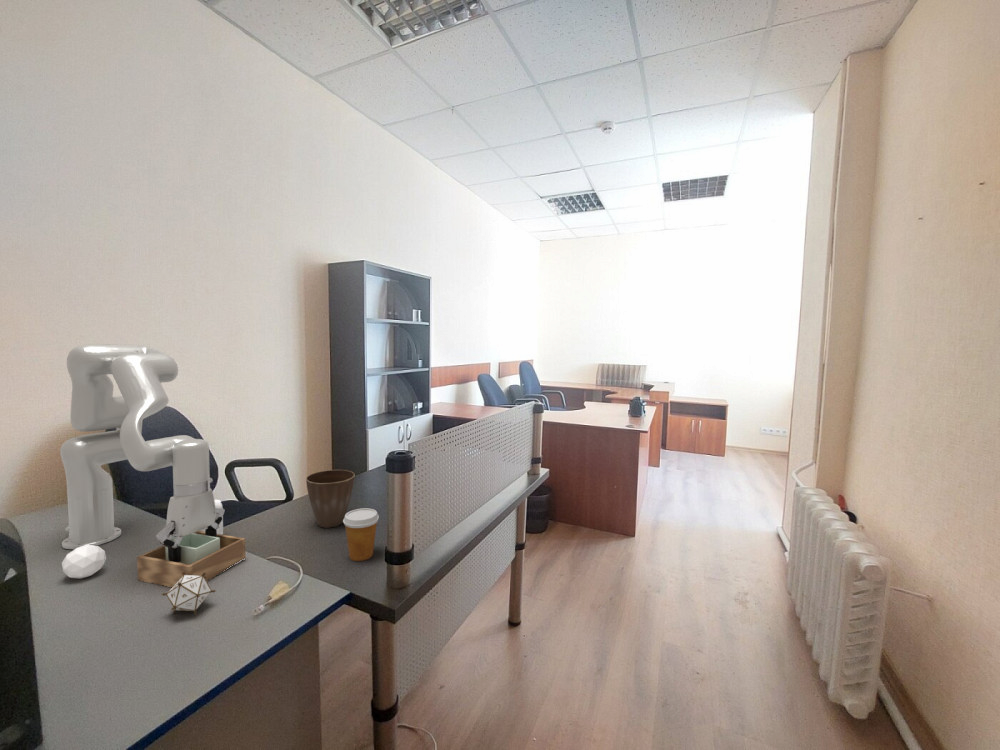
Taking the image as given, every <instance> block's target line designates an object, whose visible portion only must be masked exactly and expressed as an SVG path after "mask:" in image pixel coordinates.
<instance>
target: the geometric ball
mask: <svg viewBox="0 0 1000 750" xmlns="http://www.w3.org/2000/svg"><path fill="white" fill-rule="evenodd" d="M106 560H107V556H106V551H105V550H104V549H102V548H101V547H100V545H97V546H94V545H89V544H87V545H84V546H81V547H78V548H76V549H72V551H70V552H68V553H67V554H66V556H65V557H64V558H63V560H62V562H61V568H62V569H61V570H62V572H63V573H64V574H65V575H66V576H67V577H68V578H71V579H80V580H81V579H85V578H88V577H90V576H93V575H94V574H95V573H97V572H99V570H101V569H102V568H103V566H104V564H105V562H106Z"/></svg>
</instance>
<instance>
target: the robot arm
mask: <svg viewBox="0 0 1000 750" xmlns="http://www.w3.org/2000/svg"><path fill="white" fill-rule="evenodd" d="M66 369H67V371H68V375H69V377H70V381H71V384H72V385H71V398H70V399H71V400H70V424H71V427H72V428H73V429H74V430H75V431H78V432H84V433H85V432H87V434H82V435H78V436H75V437H71V438H69V439H67V440H65V441H64V442H63V443H62V445H61V446H60V449H59V453H60V454H59V455H60V458H61V461H62V464H63V465H62V466H63V468H64V473H65V478H66V479H65V480H66V494H67V497H66V498H67V511H68V526H66V527H65V532H68V537H66V538H65V539H64V540H63V541H62V542H61V547H62V548H63V549H65V550H75V549H76V548H78V547H81V546H84V545H87V544H89V545H94V546H100V545H104V544H106V543H108V542H111V541H113V540H115V539H118V537H120V536H121V535H122V529H121V528H119V527H117V526H116V527H115V518H114V515H115V513H114V489H113V478H112V476H111V475H110V473H109V472H107V470H104V469H103V468H102V466H104V465H108V464H112V463H116V462H120V461H128V463H129V465H130V466H131V467H132V468H133V469H135V470H136V471H139V472H150V471H151V472H152V471H156V470H159V469H162V468H163V469H164V468H167V467H172V481H173V484H172V485H173V488H172V489H173V496H170V498H169V500H168V501H169V502H168V506H167V512H166V513H167V514H166V524H165V526H164V527H163V529H161V530H160V531H159V532H157V534H156V535H155V538H156V539H157V540H158V542H159V544H160V545H161V546H163V545H165V546H166V547H168V559H169V561H172V562H177V563H179V562H180V561H181V547H180V546H178V545H179V543H180V542H181V540H182V538H183V537H185V536H188V535H190V534H192V533H195V532H197V531H199V530H202V529H204V528H206V527H207V528H208V529H206V530H205V535H207V536H213V537H217V529H218V528H219V524H220V522H221V521H222V517H223V518H224V514H225V511H226V510H225V508H223V509H220V508H215V501H214V499H215V496H214V493H213V489H212V488H211V483H212V482H213V481H214V480H213V478H212V477H210V476H211V475H210V445H209V442H208V441H207V440H206V439H202V438H194V437H193V436H189V435H185V434H183V435H180V434H179V435H173V436H170V437H169V436H168V437H163V438H156V439H151V440H146V441H145V439H144V437H143V435H142V430H143V421H144V419H146V418H148V417H150V416H152V415H154V414H156V413H159V412H160V411H161V410H163V409H164V408H165V407H166V406H168V404H169V398H168V395H167V393H166V391H165V389H164V387H163V385H162V384H163V383H170V382H172V381H175V379H176V378H177V376H178V375H179V367H178V364H177V362H176V361H175V359H174V358H173V357H172V356H171V355H170V354H169V353H166V352H163V351H161V350H158V349H155V348H153V347H150V346H148V345H147V346H146V345H140V344H104V343H103V344H102V343H101V344H100V343H99V344H98V343H97V344H95V343H94V344H93V343H92V344H91V343H90V344H82V345H78V346H75V347H73V348H72V349H71V350H70V351H69V352H68V354H67V356H66ZM109 375H112V376H113V378H114V380H115V383H116V385H117V388H118V390H119V392H120V394H121V396H120V395H119V396H118V395H117V396H114V386H115V385H114V383H113V381H112V379H111V378H110V377H109ZM161 383H162V384H161ZM110 429H111V430H112V429H116V430H112V431H111V430H110ZM105 430H110V431H105ZM97 431H103V432H97ZM89 432H93V433H89ZM94 432H95V433H94ZM168 536H169V537H168ZM174 540H175V541H174ZM173 541H174V542H173Z"/></svg>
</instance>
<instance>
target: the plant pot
mask: <svg viewBox="0 0 1000 750" xmlns="http://www.w3.org/2000/svg"><path fill="white" fill-rule="evenodd" d="M355 476H356V475H355V473H354V472H353V471H351V470H347V469H329V470H322V471H316V472H314V473H310V474H309V475H307V476H306V477H305V482H306V489H307V492H308V493H307V494H308V499H309V503H310V506H311V509H312V512H313V515H314V517H315V519H316V522H317V525H318V526H319V527H321V528H325V529H326V528H335V527H337V526H340V525H341V524H343V523H344V522H343V519H344V518H345V515H346V513H347V511H348V508H349V504H350V501H351V497H352V493H353V488H354V482H355Z"/></svg>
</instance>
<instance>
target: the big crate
mask: <svg viewBox="0 0 1000 750" xmlns="http://www.w3.org/2000/svg"><path fill="white" fill-rule="evenodd" d="M195 534H201V535H205V532H204V531H197V532H195ZM217 537H218V538H220V550H218V551H216V552H214V553H212V554H210V555H208V556H206V557H204V558H202V559H200V560H198V561H196V562H194V563H192V564H190V565H187V564H182V563H177V562H172V561H167V560H166V552H165V545H160V546H159V547H157V548H154V549H152V550H150V551H147V552H145V553H143V554H141V555H138V556H136V562H137V563H136V565H137V566H136V567H137V581H139V580H140V582H143V581H144V583H149V584H152V583H154V584H153V585H157V584H159V586H162V585H164V586H163V587H166V586H167V587H168V588H171V587H173V586H174V585H175V584H176V583H177V582H178V580H179V579H180V578H181V577H182V576H183V575H182V572H183V571H184V572H185V575H203V573H205V572H206V574H205V575H204V576H206V581H207V582H209V581H211V580H213V579H214V578H216V577H217V576H216V575H218V574H219V573H221V572H223V571H224V570H226V569H227V568H229V567H230V566H232V565H234V564H235V563H237V562H239V561H240V560H242V559H244V558H245V559H246V538H244V537H239V536H238V537H237V536H233V535H226V534H223V535H222V534H217ZM223 573H224V572H223ZM221 574H222V573H221ZM215 576H216V577H215ZM218 576H219V575H218ZM213 577H214V578H213ZM212 578H213V579H212ZM210 579H211V580H210ZM208 580H209V581H208Z"/></svg>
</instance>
